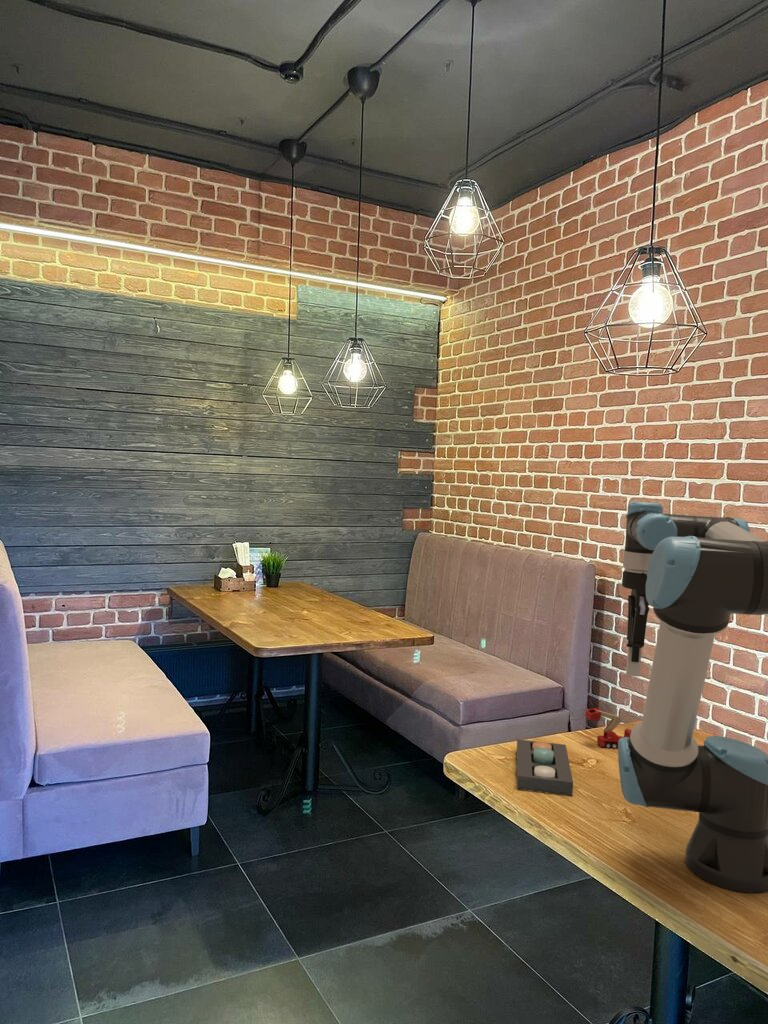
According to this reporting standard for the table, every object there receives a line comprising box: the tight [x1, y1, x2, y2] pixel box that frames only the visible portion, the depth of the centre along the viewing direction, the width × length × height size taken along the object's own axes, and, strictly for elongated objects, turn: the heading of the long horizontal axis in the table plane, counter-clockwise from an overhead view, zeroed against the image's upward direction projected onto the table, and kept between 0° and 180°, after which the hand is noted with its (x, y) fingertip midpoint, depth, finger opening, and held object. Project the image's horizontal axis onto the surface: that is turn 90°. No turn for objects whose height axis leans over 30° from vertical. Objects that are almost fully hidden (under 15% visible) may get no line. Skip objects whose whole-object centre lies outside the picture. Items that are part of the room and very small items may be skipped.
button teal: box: [533, 748, 554, 765], centre depth 179 cm, size 5×5×3 cm
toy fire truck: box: [585, 707, 632, 749], centre depth 199 cm, size 3×14×10 cm, turn 94°
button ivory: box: [534, 766, 555, 778], centre depth 171 cm, size 5×5×3 cm
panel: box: [515, 738, 574, 797], centre depth 179 cm, size 24×12×3 cm, turn 170°
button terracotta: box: [532, 741, 552, 751], centre depth 187 cm, size 5×5×3 cm
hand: (632, 675), depth 170 cm, fingers closed
